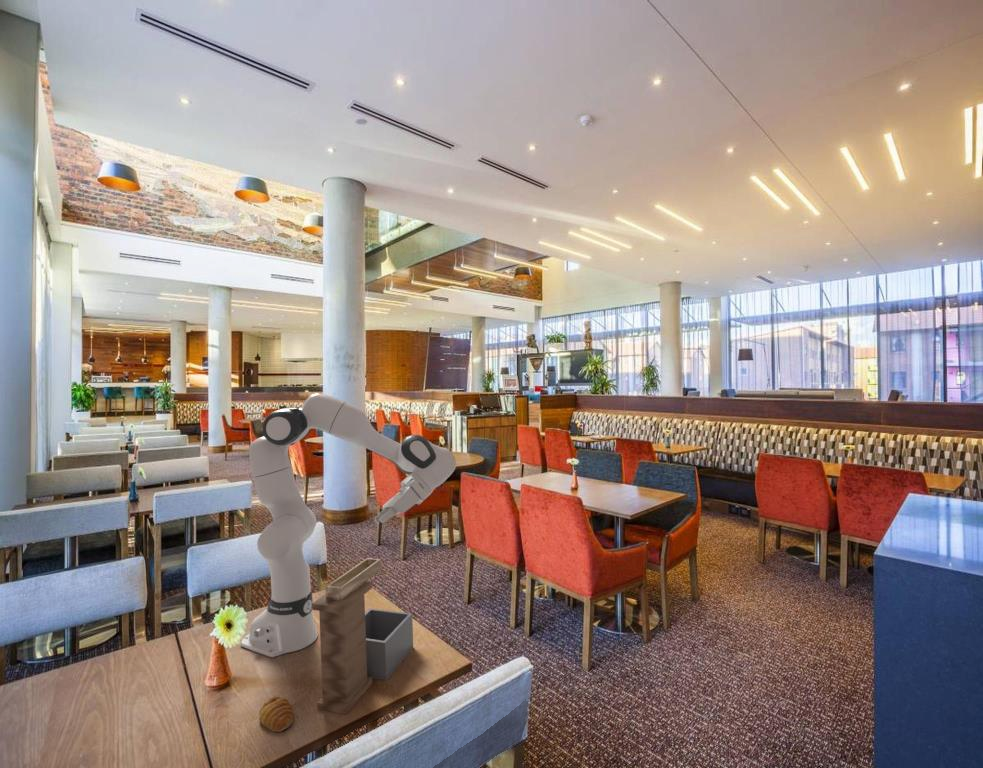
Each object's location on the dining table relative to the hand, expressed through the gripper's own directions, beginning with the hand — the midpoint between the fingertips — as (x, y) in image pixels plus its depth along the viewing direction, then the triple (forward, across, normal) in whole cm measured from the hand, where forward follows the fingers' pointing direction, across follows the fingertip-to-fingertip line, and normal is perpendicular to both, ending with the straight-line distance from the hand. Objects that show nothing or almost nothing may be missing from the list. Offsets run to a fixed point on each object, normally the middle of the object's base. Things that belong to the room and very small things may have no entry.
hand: (378, 521), depth 141 cm
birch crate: (+15, +9, +7) cm, 19 cm away
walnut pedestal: (+33, +6, +27) cm, 43 cm away
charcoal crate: (+23, -5, +30) cm, 38 cm away
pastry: (+47, +8, +19) cm, 51 cm away
